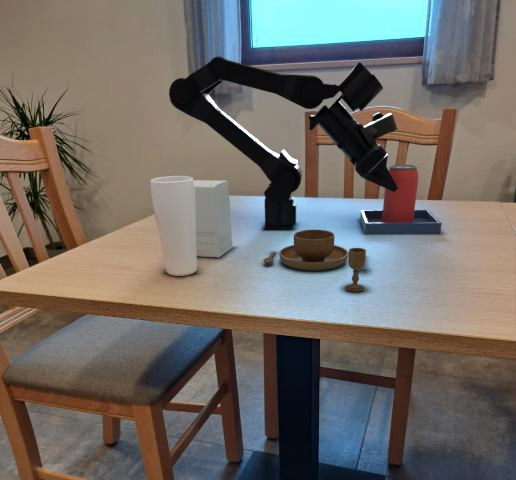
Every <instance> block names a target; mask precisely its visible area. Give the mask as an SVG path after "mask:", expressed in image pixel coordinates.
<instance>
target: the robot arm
mask: <svg viewBox="0 0 516 480" xmlns="http://www.w3.org/2000/svg"><path fill="white" fill-rule="evenodd" d="M225 81H226V82H229V83H233V84H237V85H240V86H244V87H248V88H251V89H254V90H255V89H256V90H259V91H263V92H267V93H271V94H274V95H277V96H279V97H281V98H282V99H285V100H287V101H289V102H291V103H293V104H296V105H297V106H299V107H302V108H303V109H306V110H313V109H314V110H315V109H316V108H317V107H319V106H321V104H322V103H323V101H324V100H329V99H332V98H335V97H336V96H337V95H338V93H340V95H339V96H338V97H337V99H335V101H333V103H332V104H331V105H330V106H329V107H328V106H327V105H326V104H324V105H322V107H321V108H320V109H319V110H318V111H316V113H315V114H314V115H311V114H310V115H308V121H309V127H308V130H309V131H313V130H314V129H315V128H316V127H317V126H319V128H321V130H322V131H323V132H324V133H325V134H326V135H327V136H328V137H329V138H330V140H331V141H332V142H333V143H334V144H335V146H336V147H337V148H338V149H339V150H340V151H341V152H342V153H343V154H344V155H345V157H346V158H347V159H348V160H349V162H350V163H351V164H352V165H353V166H354V171H355V172H356V173H357V174H358V175H359V176H360V178H362V179H363V180H366V181H368V182H370V183H372V184H375V185H377V186H380V187H381V188H384V189H385V188H386V189H388V190H390V191H392V192H395V191H396V190H397V189H398V187H397V185H396V183H395V182H394V180H393V178H392V176H391V174H390V172H389V169H388V167H387V163H388V158H389V155H388V152H387V151H386V150H385V148H383V147H382V145H380V144H378V143H377V139H379V138H381V137H383V136H385V135H387V134H389V133H390V134H392V133H395V132H396V131H397V130H398V127H397V124H396V121H395V117H394V115H393V113H391V112H389V113H386V114H384V115H383V114H382V113H381V112H380V111H379V112H376V113H374V114H372V117H371V121H370V122H368V123H367V124H365V125H363V124H362V122H358V121H357V120H356V119H355V118H354V116H353V115H352V114H351V113H350V112H349V110H347V108H346V107H345V106H344V105H343V104H342V103H341V102H340V101H341V100H342V101H343V102H344V103H345V105H346V106H347V107H348V108H349V109H350V110H351V111H352V113H354V112H355V111H356V110H359V111H360V112H362V111H363V110H364V109H366V107H367V106H368V105H369V104H370V103H371V102H372V101H373V100H374V99H375V98H376V97H377V96H378V95H379V94H380V93H381V92H382V91H383V90H384V86H383V84H382V83H381V82H380V81H379V79H378V78H377V77H376V75H375V74H374V73H372V72H371V71H369V70H368V68H367V67H366V66H365V65H364V64H363V63H362V62H361V61H359V62H358V63H357V64H355V66H354V67H353V68H352V70H351V71H350V73H349V74H348V75H346V77H345V78H344V80H343V81H342V82H341V83H340V84H339V85H337V84H336V83H335V82H334V83H333V84H330V83H324V81H323V80H322V79H321V78H320V77H318V76H316V75H312V74H311V75H309V74H288V73H278V72H275V71H271V70H267V69H264V68H260V67H256V66H252V65H248V64H244V63H241V62H238V61H233V60H230V59H227V58H225V57H223V56H219V55H218V56H214V57H213V58H211V60H210V61H209V62H207V63H206V64H205V65H203V66H201V67H200V68H198V69H197V70H195V71H193V72H192V73H190V75H188V76H187V77H179V78H176V79H175V80H173V82H171V84H170V87H169V89H168V90H169V91H168V97H169V101H170V103H171V105H172V106H173V107H174V108H175V109H177V110H178V111H180V112H182V113H183V114H186V115H187V116H190V117H192V118H193V119H195V120H197V121H200V122H202V123H204V124H206V125H207V126H208V127H210V129H212V130H213V131H214V132H216V133H217V134H218V135H219V136H221V137H222V139H224V140H225V141H227V142H228V143H229V144H230V145H232V146H233V147H234V148H236V149H237V150H238V151H239V152H240V153H242V154H243V155H245V156H246V158H248V159H249V160H250V161H252V162H253V164H255V165H256V166H258V167H259V168H260V169H261V171H262V173H263V174H264V175H265V177H266V178H267V179H268V181H269V182H270V183H269V184H268V185H267V187H266V188H265V190H264V192H263V196H264V226H263V229H264V230H293V229H294V227H295V225H297V204H296V203H295V197H294V196H291V195H292V193H294V192H296V191H297V190H298V189H299V187H300V185H301V182H302V177H303V172H302V169H301V167H300V165H299V164H298V162H299V160H298V159H295V158H293V157H291V156H290V155H289V154H288V152H287V151H286V150H285V149H282V150H281V152H280V153H277V152H275V151H274V150H273V151H272V150H271V149H270V148H268V147H267V146H266V145H264V144H263V143H262V142H261V140H259V139H258V138H256V137H255V136H254V135H253V134H251V133H250V132H249V131H248V130H247V129H245V128H244V127H243V126H241V124H239V123H238V122H237V121H235V120H234V119H233V118H232V117H231V116H229V114H227V113H226V112H224V110H222V109H221V108H220V107H219V106H218V105H217V104H216V102H215V101H214V100H213V98H212V97H211V95H210V94H211V92H213V91H214V90H215V89H216V88H217V87H218V86H219V85H221V84H222V83H223V82H225Z"/></svg>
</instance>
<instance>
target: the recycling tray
mask: <svg viewBox="0 0 516 480" xmlns="http://www.w3.org/2000/svg"><path fill="white" fill-rule="evenodd" d="M382 214H383V209H361V210H360V216H359V221H360V223H361V226H362V229H363V232H364V233H363V234H364V235H408V234H409V235H441V230H442V224H443V223H442V222H441V221H440V219H438V218H437V217H436V215H434V213H432V212H431V210H429V209H415V210H414V218H413V223H382Z"/></svg>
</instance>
